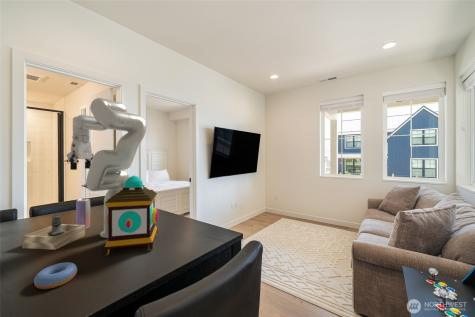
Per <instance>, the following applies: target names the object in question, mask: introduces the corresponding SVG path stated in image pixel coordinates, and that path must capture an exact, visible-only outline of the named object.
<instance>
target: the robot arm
mask: <svg viewBox="0 0 475 317" xmlns="http://www.w3.org/2000/svg"><path fill="white" fill-rule="evenodd" d="M89 109H90V112H91V114H92V115H93V116H92V115H87V114H79V115H78V116H74V117H72V140H71V145H70V152H68V153H66V157H67V160H68V162H69V164H70V166H69V167H70V168H69V169H70V170H71V171H77V169H78V162H77V161H78V160H84V168H85V170H87V169H88V171H87V172H88V173H87V175H86V180H85V184H86V188H87V189H88V190H89V191H90V192H102V191H103V192H104V191H106V192H105V195H104V199H103V230H101V232H100V233H99V236H100V237H101V238H103V239H108V223H107V216H108V207H107V206H106V204H105V202H106V201H107V200H108V199H109V198H111V196H113V195H115V194H116V193H118V192H120V191H121V190H123V188H124V187H125V181H126V180H127V179H128V178H129V177H130V176H129V174H128V172H127V171H126V170H128V169H130V168H131V166H132V163H133V161H134V158H135V156H136V153H137V151H138V148H139V146H140V144H141V142H142V141H143V140H144V137H145V135H146V131H147V125H146V121H145V119H144V118H143V117H142V116H140V115H138V114H135V113H130V112H128V111H127V108H126V106H125V105H124V104H123V103H121V102H119V101H115V100H112V99H106V98H103V97H96V98H94V99H93V100H92V101H91V102H90V107H89ZM90 130H91V131H98V132H99V131H100V132H102V131H105V130H113V131H120V132H121V131H122V132H127V133H125V134H124V135H122V136H121V137H120V138H119V139H118V142H117V144H116V147H115V148H114V149H101V150H98V151H96V152H95V154H94V153H93V150H92V144H91V142H90Z"/></svg>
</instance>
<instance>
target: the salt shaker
mask: <svg viewBox="0 0 475 317" xmlns="http://www.w3.org/2000/svg"><path fill="white" fill-rule="evenodd" d="M61 217H62V216H61V215H60V214H58V213H57V212H56V213H55V215H53V216H51V224H50V226H52V230H51V232H49V233H48V235H49V236H58V235H60V234H63V233H64V232H65V230H63V229H61V224H63V222H62V221H61V220H62V218H61Z"/></svg>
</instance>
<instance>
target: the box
mask: <svg viewBox="0 0 475 317" xmlns="http://www.w3.org/2000/svg"><path fill="white" fill-rule="evenodd" d="M61 229H63V230H65V232H64V233H63V234H60V235H58V236H49V235H48V233H49V232H51V230H52V225H50V226H48V227H45V228H42V229H41V228H40V229H38V230H36V231H32V232H30V233H27V234H24V235H22V236H21V238H22V239H21V240H22V242H21V244H22V249H34V250H35V249H37V250H57V249H60V248H61V247H64V246H66V245H68V244H70V243H72V242H74V241H77V240H79V239H80V238H83V237H85V236H86V229H85V225H76V224H66V223H65V224H63V223H61Z"/></svg>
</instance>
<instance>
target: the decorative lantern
mask: <svg viewBox="0 0 475 317" xmlns="http://www.w3.org/2000/svg"><path fill="white" fill-rule="evenodd" d="M157 195H158V193H157V192H156V191H155V190H153V189H149V188H147V187H146V186H145V185H144V183H143V180H142V179H141V178H140V177H139V176H138V175H131V176H129V178H128V179H127V180H126V181H125V187H124V188H123V190H121V191H120V192H118V193H116V194H115V195H113V196H111V198H109V199H108V200H107V201H106V202H105V204H106V206H107V207H108V216H107V223H108V238H107V241H106V242H105V245H104V246H103V254H104V255H105V256H108V255H109V254H110V250H111V249H117V248H126V247H137V246H148V251H152V250H154V241H155V239H156V236H157V235H158V227H157V225H156V223H157V222H158V220H159V210H158V208H157V207H156V206H155V205H156V204H155V203H156V202H155V201H156V198H157Z"/></svg>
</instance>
